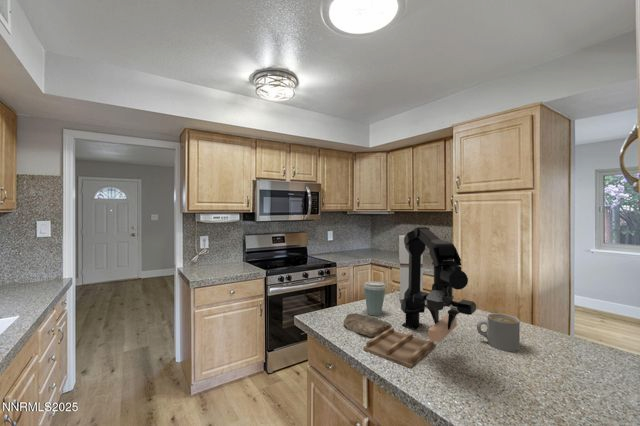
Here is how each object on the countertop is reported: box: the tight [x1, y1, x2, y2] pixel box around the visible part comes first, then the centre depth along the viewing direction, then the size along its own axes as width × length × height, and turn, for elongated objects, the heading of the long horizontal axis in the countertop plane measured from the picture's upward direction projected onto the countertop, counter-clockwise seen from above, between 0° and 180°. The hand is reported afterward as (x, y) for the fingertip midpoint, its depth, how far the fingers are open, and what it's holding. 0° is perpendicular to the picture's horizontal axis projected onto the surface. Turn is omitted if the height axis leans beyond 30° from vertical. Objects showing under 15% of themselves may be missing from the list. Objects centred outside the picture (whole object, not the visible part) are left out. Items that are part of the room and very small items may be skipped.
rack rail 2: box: [408, 339, 435, 363], centre depth 102 cm, size 18×1×2 cm, turn 137°
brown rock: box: [343, 313, 393, 338], centre depth 126 cm, size 14×5×20 cm
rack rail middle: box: [386, 332, 414, 355], centre depth 107 cm, size 18×1×2 cm, turn 137°
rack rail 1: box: [365, 326, 395, 348], centre depth 113 cm, size 18×1×2 cm, turn 137°
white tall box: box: [398, 234, 424, 304], centre depth 161 cm, size 11×11×35 cm
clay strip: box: [427, 314, 458, 343], centre depth 98 cm, size 16×4×3 cm, turn 138°
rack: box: [363, 330, 437, 369], centre depth 107 cm, size 20×18×1 cm
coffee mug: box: [476, 312, 521, 353], centre depth 110 cm, size 13×10×10 cm
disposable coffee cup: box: [363, 281, 387, 317], centre depth 142 cm, size 11×11×15 cm
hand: (443, 327), depth 98 cm, fingers closed on clay strip, 4 cm apart
